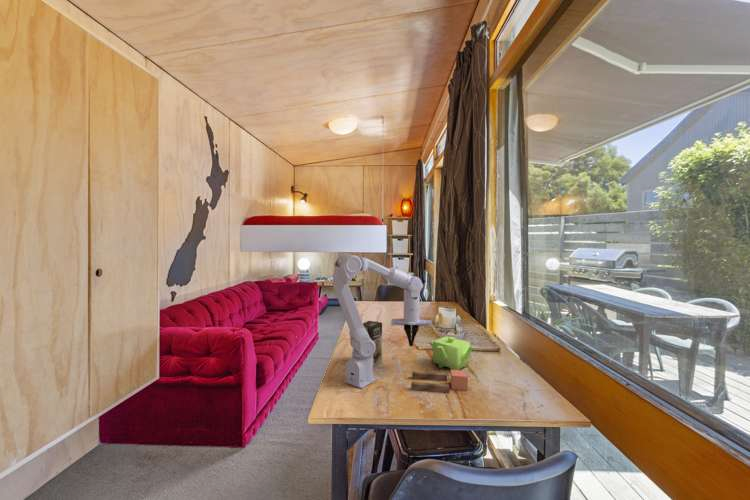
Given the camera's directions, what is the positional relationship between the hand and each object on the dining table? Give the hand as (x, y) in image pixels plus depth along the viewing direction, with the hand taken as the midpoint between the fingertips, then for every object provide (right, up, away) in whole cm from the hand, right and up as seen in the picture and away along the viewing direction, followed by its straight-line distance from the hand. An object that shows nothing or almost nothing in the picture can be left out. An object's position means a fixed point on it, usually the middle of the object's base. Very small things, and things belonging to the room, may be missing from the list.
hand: (411, 345), depth 122 cm
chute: (+4, -10, -10) cm, 15 cm away
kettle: (+16, -10, +5) cm, 19 cm away
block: (+15, -11, -11) cm, 21 cm away
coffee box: (-15, -10, +7) cm, 19 cm away
